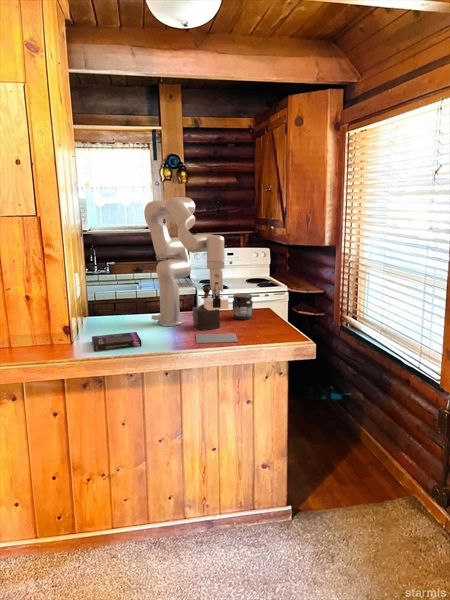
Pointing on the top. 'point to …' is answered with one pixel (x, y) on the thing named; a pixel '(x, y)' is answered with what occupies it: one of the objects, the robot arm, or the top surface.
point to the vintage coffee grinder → (206, 315)
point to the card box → (209, 303)
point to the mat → (216, 338)
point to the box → (116, 341)
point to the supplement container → (242, 306)
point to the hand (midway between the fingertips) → (216, 305)
